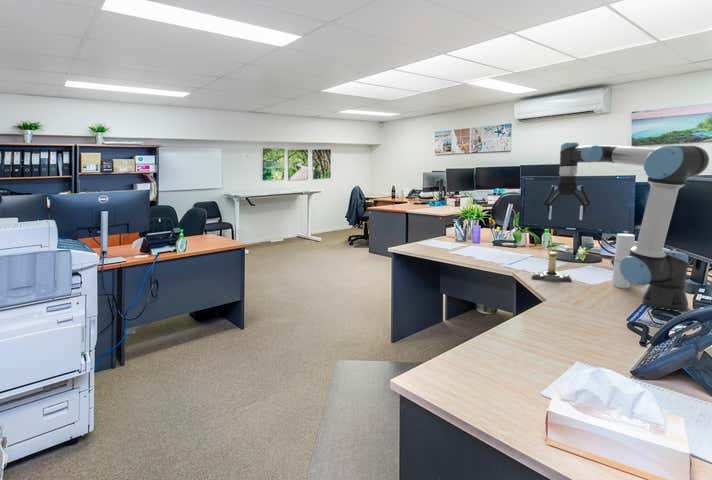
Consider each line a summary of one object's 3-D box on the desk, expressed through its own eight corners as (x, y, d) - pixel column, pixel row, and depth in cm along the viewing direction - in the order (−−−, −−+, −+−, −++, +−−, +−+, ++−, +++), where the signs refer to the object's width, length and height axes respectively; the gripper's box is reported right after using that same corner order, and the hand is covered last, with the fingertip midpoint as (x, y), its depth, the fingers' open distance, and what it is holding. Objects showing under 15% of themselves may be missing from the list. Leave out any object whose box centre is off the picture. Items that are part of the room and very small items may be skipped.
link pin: (557, 279, 213) (559, 252, 210) (553, 280, 210) (555, 254, 207) (548, 277, 216) (550, 251, 214) (544, 278, 213) (546, 252, 211)
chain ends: (569, 278, 213) (570, 272, 213) (571, 282, 207) (572, 276, 206) (531, 275, 219) (532, 270, 219) (532, 279, 213) (532, 273, 212)
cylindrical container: (608, 284, 202) (613, 234, 197) (619, 283, 204) (624, 233, 199) (621, 288, 195) (626, 236, 190) (633, 287, 197) (638, 235, 192)
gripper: (595, 175, 198) (592, 219, 201) (539, 175, 206) (536, 218, 210) (598, 175, 191) (595, 220, 194) (540, 176, 199) (537, 219, 203)
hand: (565, 219), depth 202 cm, fingers open, 13 cm apart
